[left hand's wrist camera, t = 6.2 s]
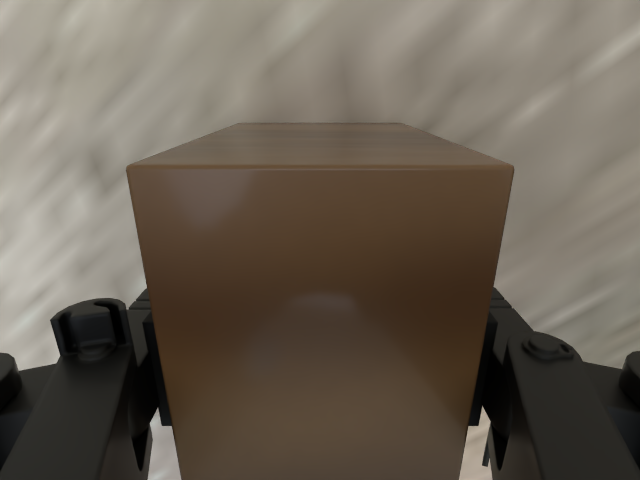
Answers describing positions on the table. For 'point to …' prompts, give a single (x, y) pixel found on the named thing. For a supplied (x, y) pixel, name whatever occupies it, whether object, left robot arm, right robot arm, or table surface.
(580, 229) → the table surface
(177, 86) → the table surface
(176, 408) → the beam
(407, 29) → the table surface
